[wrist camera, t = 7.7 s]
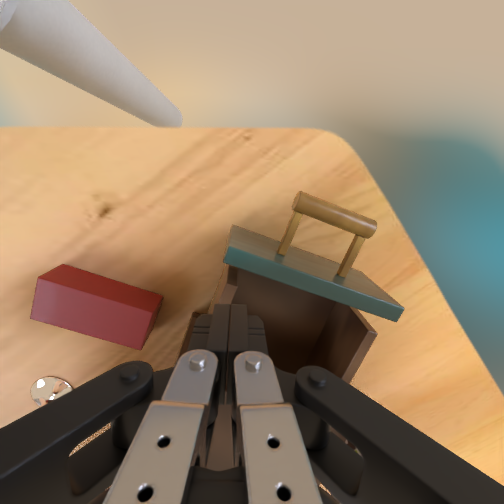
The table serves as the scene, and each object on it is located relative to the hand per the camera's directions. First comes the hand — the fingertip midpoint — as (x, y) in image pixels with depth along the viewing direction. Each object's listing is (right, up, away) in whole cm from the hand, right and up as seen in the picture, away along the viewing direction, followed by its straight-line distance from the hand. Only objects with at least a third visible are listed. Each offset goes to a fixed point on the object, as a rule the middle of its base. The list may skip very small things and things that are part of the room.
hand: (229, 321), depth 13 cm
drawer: (+4, 0, +14) cm, 14 cm away
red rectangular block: (-13, -1, +14) cm, 19 cm away
